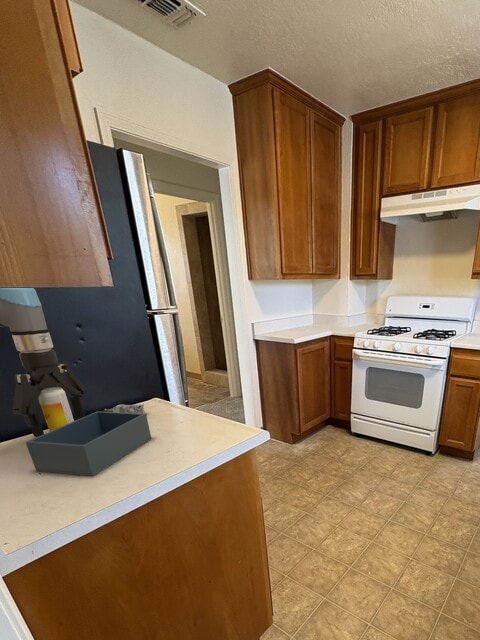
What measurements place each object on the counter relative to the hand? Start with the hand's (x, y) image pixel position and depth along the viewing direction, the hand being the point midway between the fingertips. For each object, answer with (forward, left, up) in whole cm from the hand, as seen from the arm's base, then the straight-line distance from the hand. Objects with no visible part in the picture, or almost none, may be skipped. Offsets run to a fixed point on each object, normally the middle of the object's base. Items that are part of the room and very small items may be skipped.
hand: (61, 427), depth 99 cm
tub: (+16, -6, -4) cm, 18 cm away
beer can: (0, 0, -4) cm, 4 cm away
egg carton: (+4, +20, -4) cm, 21 cm away
